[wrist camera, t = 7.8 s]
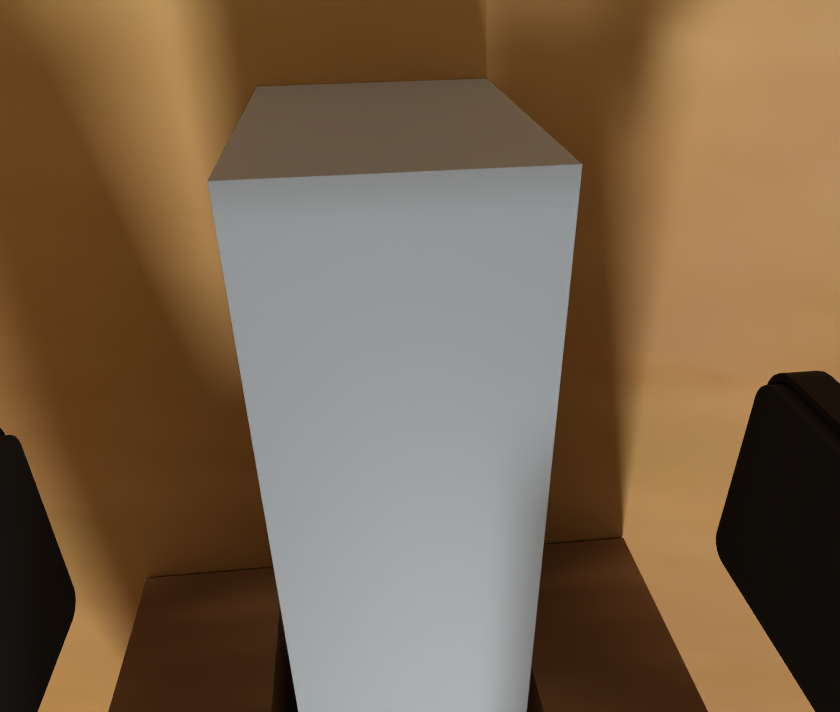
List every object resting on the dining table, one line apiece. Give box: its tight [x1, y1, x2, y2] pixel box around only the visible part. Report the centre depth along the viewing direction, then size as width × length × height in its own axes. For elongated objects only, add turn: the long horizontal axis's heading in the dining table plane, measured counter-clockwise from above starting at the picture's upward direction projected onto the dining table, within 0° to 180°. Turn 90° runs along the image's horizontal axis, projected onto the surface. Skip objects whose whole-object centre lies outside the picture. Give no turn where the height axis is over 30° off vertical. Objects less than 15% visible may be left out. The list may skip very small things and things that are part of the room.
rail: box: [207, 78, 582, 712], centre depth 12 cm, size 4×15×6 cm, turn 1°
